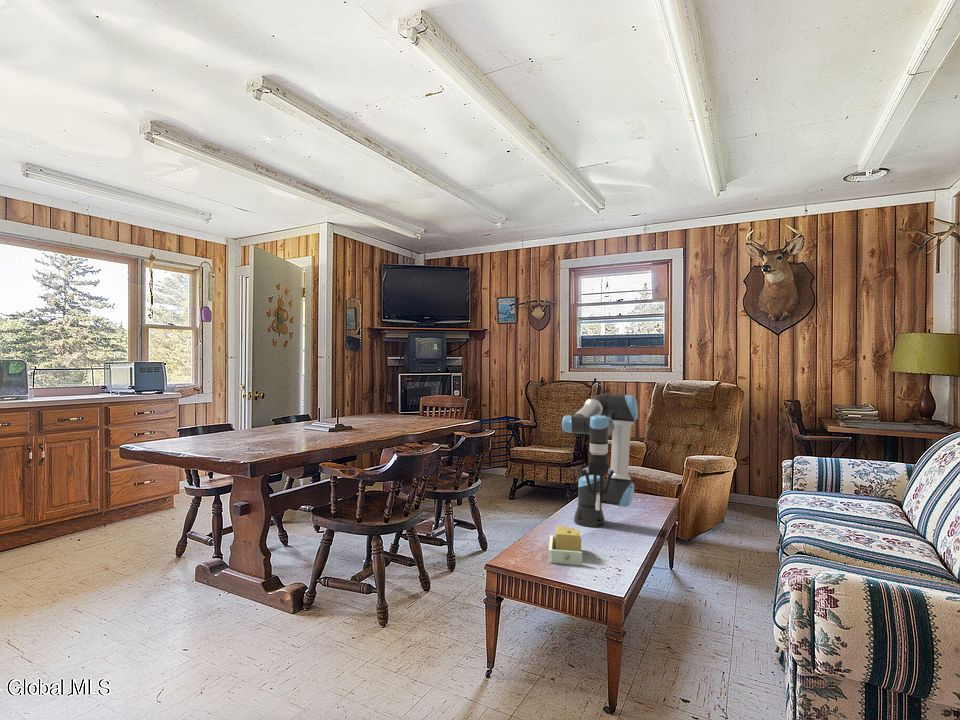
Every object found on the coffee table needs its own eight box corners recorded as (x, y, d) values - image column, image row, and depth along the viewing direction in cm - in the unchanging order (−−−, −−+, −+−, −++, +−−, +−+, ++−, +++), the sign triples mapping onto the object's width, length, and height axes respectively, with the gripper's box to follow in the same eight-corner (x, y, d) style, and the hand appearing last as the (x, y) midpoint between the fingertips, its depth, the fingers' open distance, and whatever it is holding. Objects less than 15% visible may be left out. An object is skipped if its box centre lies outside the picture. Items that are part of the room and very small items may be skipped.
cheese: (580, 550, 218) (580, 527, 218) (580, 560, 207) (580, 535, 207) (555, 548, 220) (556, 525, 220) (554, 558, 209) (555, 533, 209)
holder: (550, 546, 222) (550, 534, 222) (580, 548, 220) (581, 537, 220) (548, 563, 203) (548, 550, 203) (582, 566, 201) (582, 553, 201)
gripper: (583, 454, 210) (582, 511, 211) (615, 455, 208) (614, 513, 209) (582, 450, 218) (581, 505, 218) (613, 452, 216) (612, 507, 216)
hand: (597, 509), depth 213 cm, fingers closed
